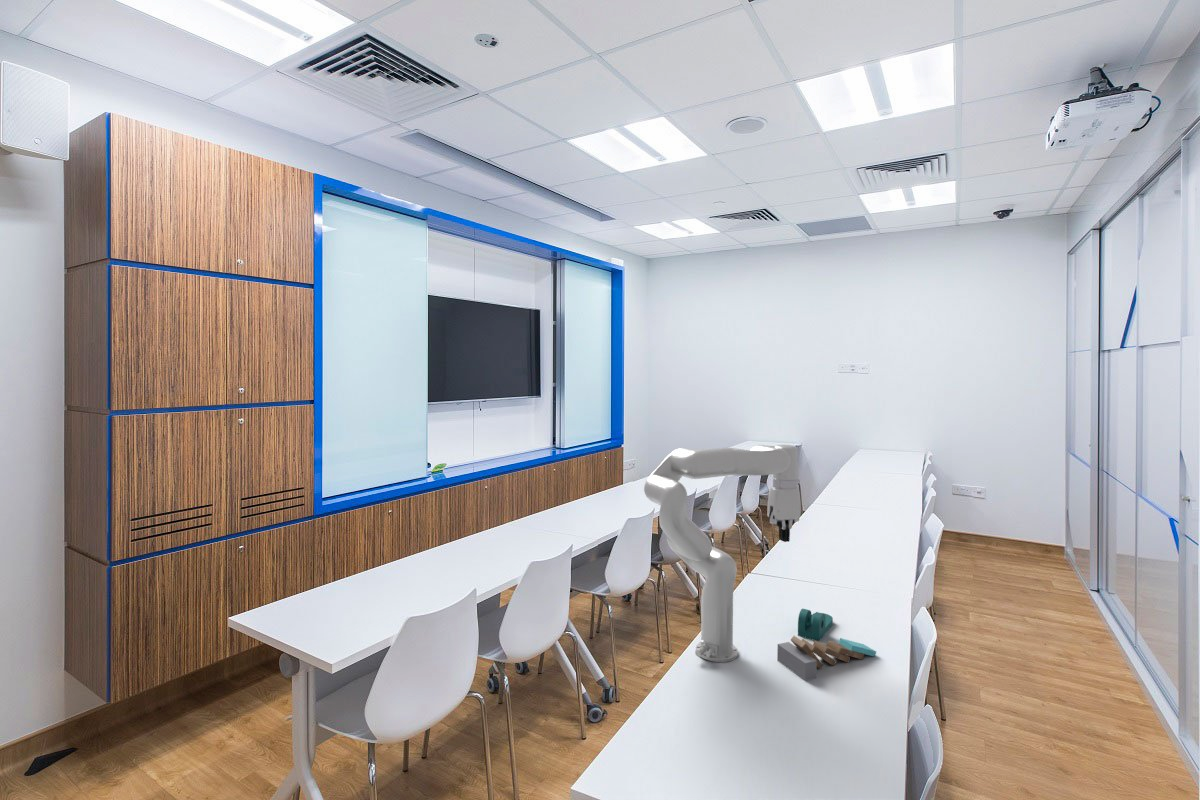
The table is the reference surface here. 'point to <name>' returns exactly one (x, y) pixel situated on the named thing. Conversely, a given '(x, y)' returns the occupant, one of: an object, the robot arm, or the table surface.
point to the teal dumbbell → (813, 624)
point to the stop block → (797, 661)
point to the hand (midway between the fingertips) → (784, 540)
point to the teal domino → (857, 647)
